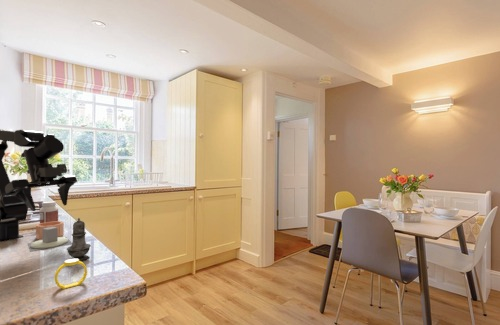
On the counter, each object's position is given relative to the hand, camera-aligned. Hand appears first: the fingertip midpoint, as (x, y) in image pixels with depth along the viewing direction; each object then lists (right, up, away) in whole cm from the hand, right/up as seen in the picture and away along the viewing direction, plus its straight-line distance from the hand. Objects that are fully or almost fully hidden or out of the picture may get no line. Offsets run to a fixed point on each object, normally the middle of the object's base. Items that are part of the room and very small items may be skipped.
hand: (50, 207), depth 87 cm
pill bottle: (-18, -13, +23) cm, 32 cm away
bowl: (-8, -13, +10) cm, 18 cm away
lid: (-1, -12, +1) cm, 13 cm away
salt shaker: (+17, -13, -12) cm, 24 cm away
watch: (+26, -13, -28) cm, 40 cm away
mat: (-1, -13, +1) cm, 13 cm away
